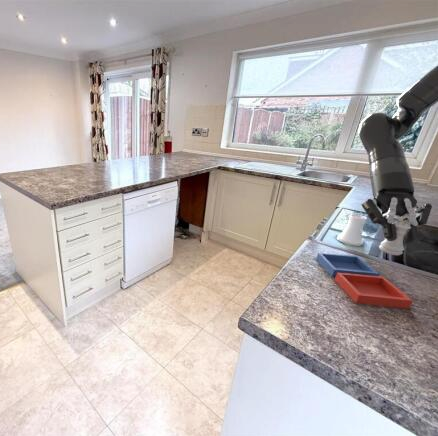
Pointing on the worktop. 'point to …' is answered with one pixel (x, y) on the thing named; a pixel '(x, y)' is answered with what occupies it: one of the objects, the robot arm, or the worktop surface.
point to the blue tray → (345, 264)
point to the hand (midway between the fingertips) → (402, 240)
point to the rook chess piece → (396, 245)
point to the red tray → (372, 290)
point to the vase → (353, 230)
